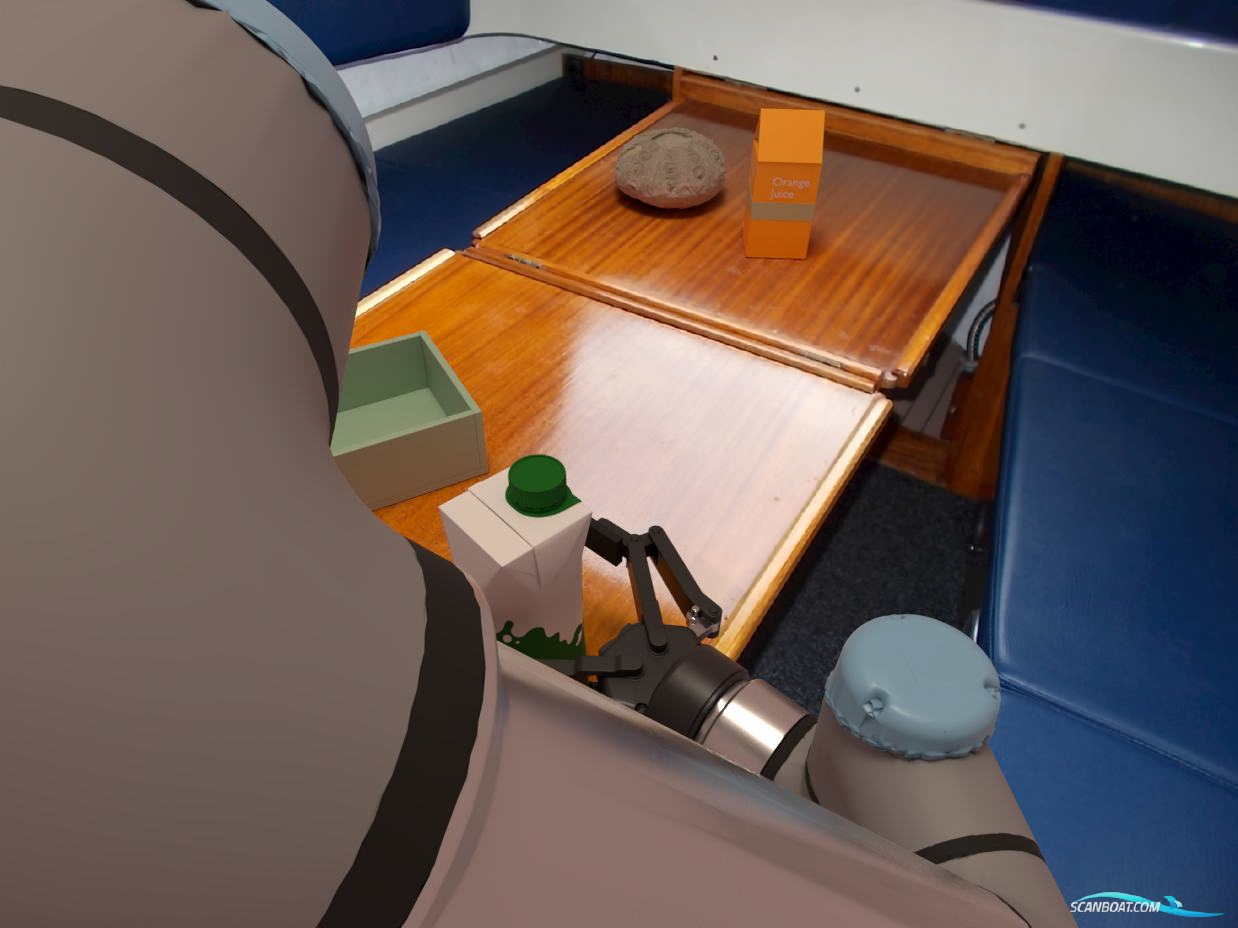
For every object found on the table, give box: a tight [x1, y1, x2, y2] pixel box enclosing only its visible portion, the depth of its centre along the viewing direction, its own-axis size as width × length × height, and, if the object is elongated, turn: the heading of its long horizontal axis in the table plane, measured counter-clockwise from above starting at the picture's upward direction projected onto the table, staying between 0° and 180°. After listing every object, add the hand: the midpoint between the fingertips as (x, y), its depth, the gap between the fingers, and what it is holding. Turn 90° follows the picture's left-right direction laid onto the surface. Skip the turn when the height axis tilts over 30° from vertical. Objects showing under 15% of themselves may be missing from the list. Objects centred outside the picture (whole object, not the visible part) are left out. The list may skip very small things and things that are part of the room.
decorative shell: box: [613, 126, 727, 210], centre depth 137 cm, size 18×18×10 cm
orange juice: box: [742, 107, 826, 259], centre depth 122 cm, size 8×9×20 cm
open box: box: [330, 329, 489, 512], centre depth 89 cm, size 17×17×8 cm
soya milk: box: [437, 453, 594, 660], centre depth 65 cm, size 9×9×20 cm
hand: (495, 558), depth 65 cm, fingers open, 13 cm apart
